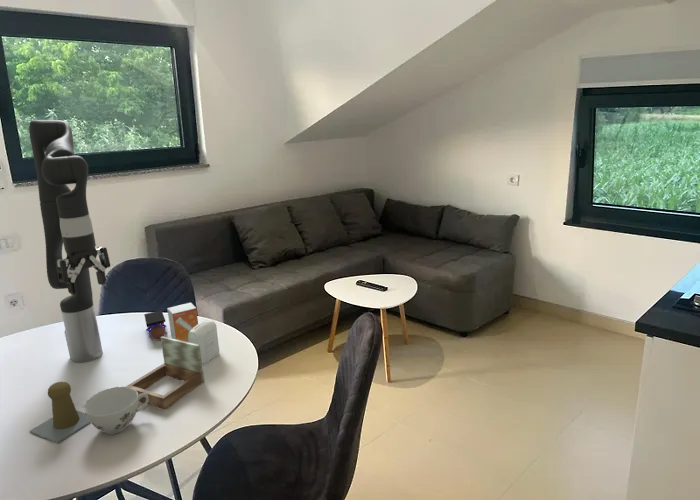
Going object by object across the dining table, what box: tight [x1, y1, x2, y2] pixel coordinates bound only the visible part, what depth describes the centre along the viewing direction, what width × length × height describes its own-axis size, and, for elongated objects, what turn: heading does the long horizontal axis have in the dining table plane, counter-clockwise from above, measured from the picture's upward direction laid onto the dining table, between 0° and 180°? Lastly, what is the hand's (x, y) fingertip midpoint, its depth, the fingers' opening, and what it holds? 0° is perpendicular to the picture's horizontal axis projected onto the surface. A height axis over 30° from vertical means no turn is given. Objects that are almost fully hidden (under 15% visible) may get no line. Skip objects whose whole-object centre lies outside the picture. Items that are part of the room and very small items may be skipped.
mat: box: [29, 410, 91, 444], centre depth 133 cm, size 11×11×1 cm
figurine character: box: [143, 309, 167, 340], centre depth 183 cm, size 7×8×15 cm
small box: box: [167, 302, 199, 342], centre depth 174 cm, size 8×6×13 cm
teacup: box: [82, 386, 149, 435], centre depth 131 cm, size 15×12×8 cm
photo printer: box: [188, 320, 220, 366], centre depth 162 cm, size 10×4×12 cm, turn 155°
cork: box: [47, 381, 79, 429], centre depth 132 cm, size 6×6×11 cm
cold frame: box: [125, 336, 205, 411], centre depth 146 cm, size 14×15×12 cm
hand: (88, 289), depth 142 cm, fingers open, 8 cm apart
